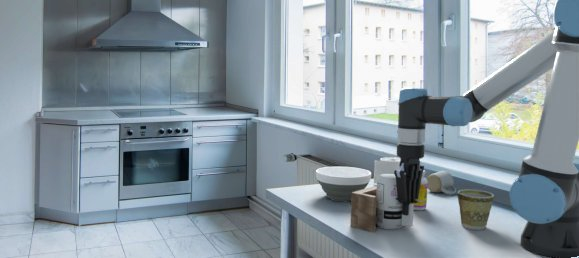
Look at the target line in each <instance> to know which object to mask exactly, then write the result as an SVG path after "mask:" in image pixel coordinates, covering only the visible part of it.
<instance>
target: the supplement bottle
mask: <svg viewBox="0 0 579 258" xmlns="http://www.w3.org/2000/svg"><path fill="white" fill-rule="evenodd" d="M425 175H426V170H425V169H424V170H423V173H422V178H421V184H420V191H419V197H418V199H415V200H416V201H418V202H417V203H414V206H413V211H424V210H426V209H427V200H428V188H427V185H428V181H427V177H425Z"/></svg>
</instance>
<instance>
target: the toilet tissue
mask: <svg viewBox="0 0 579 258" xmlns="http://www.w3.org/2000/svg"><path fill="white" fill-rule="evenodd" d="M400 160H401V158H400V157H396V156H395V157H391V156H389V157H388V156H387V157H386V156H385V157H380V159H379V160H378V159H374V169H373V184H376V185H377V179H378V177H379V174H382V173H394V171H395V170H398V169H399V168H400V166H399V164H400Z"/></svg>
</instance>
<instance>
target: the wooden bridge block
mask: <svg viewBox="0 0 579 258" xmlns="http://www.w3.org/2000/svg"><path fill="white" fill-rule="evenodd" d="M376 191H377V185H374V186H370V187H365V189H362V190H359V191H355V192H352V196H351V201H350V223H349V224H350V225H349V226H350V227H352V228H356V229H359V230H362V231H367V232H369V233H374V232H375V231H376V226H377V224H376V201H377V196H376Z"/></svg>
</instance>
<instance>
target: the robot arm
mask: <svg viewBox="0 0 579 258" xmlns="http://www.w3.org/2000/svg"><path fill="white" fill-rule="evenodd" d="M553 22H554V24H555V26H554V27H555V28H554V30H553V31H552V32H550V33H548V34H547V35H546V36H545V37H542V38H541V39H540V40H539V41H538V42H536V43H535V44H533V45H532V46H530V47H528V49H526V50H524V51H523V52H522V53H520V54H519V55H518V56H516V57H515V58H513V59H512V60H510V61H509V62H507V63H506V64H505V65H504V66H502V67H500V68H499V69H498V70H496V71H494V72H493V73H492V74H490V75H489V76H488V77H486V78H485V79H484V80H482V81H481V82H479V83H478V84H476V85H475V86H473V87H472V88H471V89H470V90H468V91H466V92H465V93H464V94H462V95H455V96H437V95H435V96H432V95H428V90H427V88H424V87H423V88H422V87H404V88H401V89H400V91H399V97H398V98H399V99H398V104H397V105H398V116H397V117H398V120H397V122H398V123H397V124H398V125H397V131H396V134H397V142H398V143H397V144H396V156H397V158H401V160H400V164H399V166H400V168H399V169H398V170H395V171H394V174H395V177H396V186H397V198H398V202H400V203H402V223H401V225H403V227H409V228H411V227H413V226H414V225H413V224H414V223H413V222H414V210H413V206H414V203H417V202H418V201H416V200H415V199H418V197H419V191H420V184H421V178H422V173H423V170H425V166H424V165H421V161H420V160H421V159H423V158H424V157H425V145H424V144H425V142H426V127H427V126H426V124H432V125H440V126H441V125H442V126H450V127H465V126H468V125H469V123H473V122H476V121H478V120H481V118H483V117H484V115H485V114H486V113H488V112H489V111H490V110H491V109H493V108H494V107H495V106H498V105H499V104H500V103H502V102H503V101H505V100H506V99H508V98H509V97H511V96H513V95H515V93H517V92H519V91H520V90H522V89H523V88H525V87H527V86H528V85H530V84H531V83H532V82H534V81H536V80H537V79H540V77H541V76H543V75H545V74H547V73H548V72H549V71H551V75H550V80H549V83H548V87H547V91H546V94H545V99H544V102H543V103H544V104H543V108H542V112H541V114H540V115H541V116H540V119H539V123H538V127H537V131H536V135H535V138H534V139H535V140H534V144H533V147H532V152H531V153H530V154H529V155H528V154H527V156H524V157H523V159H522V162H521V167H520V170H519V174H518V177H517V178H516V179H515V180H514V182H512V185H511V186H510V189H509V195H508V197H509V203H510V205H511V207H512V209H513V210H514V212H515V213H516V214H517V215H518V216H519V217H520V218H522V219H523V220H525V221H527V222H526V224H525V226H524V227H523V231H522V232H521V235H520V246H521V247H522V248H523V249H525V250H527V251H529V252H530V253H531V252H532V253H533V254H537V255H540V254H541V256H545V257H549V256H550V257H549V258H554V257H560V258H571V257H577V256H579V162H578V163H577V162H574V160H575V157H576V152H577V149H578V144H579V0H556V2H555V3H554V7H553Z"/></svg>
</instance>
